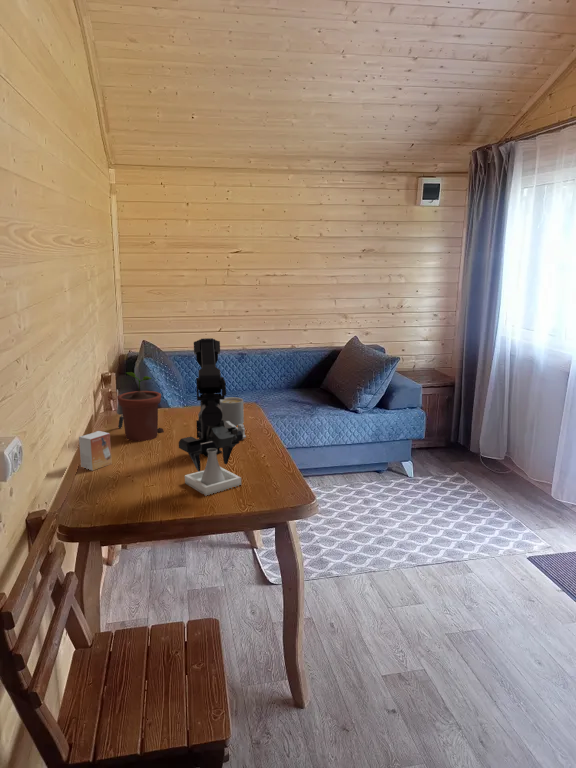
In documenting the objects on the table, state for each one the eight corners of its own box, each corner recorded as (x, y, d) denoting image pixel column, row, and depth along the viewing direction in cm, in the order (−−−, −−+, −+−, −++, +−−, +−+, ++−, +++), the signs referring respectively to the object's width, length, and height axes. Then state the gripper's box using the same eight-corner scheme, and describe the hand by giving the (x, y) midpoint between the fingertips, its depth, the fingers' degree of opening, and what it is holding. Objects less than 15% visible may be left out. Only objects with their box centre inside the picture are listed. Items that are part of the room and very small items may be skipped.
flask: (204, 488, 161) (203, 455, 159) (197, 479, 167) (196, 447, 165) (228, 484, 164) (227, 451, 162) (220, 475, 170) (220, 444, 168)
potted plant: (113, 444, 202) (108, 376, 196) (118, 427, 222) (114, 366, 217) (163, 441, 205) (160, 374, 200) (164, 425, 226) (161, 364, 221)
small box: (92, 471, 176) (89, 439, 174) (80, 468, 179) (78, 436, 177) (112, 463, 183) (110, 432, 180) (100, 460, 186) (98, 430, 183)
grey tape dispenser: (228, 435, 213) (246, 440, 207) (225, 436, 212) (244, 440, 206) (227, 420, 212) (246, 425, 206) (224, 421, 211) (243, 426, 205)
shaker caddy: (219, 473, 174) (219, 466, 173) (241, 485, 165) (241, 477, 164) (185, 483, 166) (184, 475, 166) (205, 496, 157) (205, 487, 157)
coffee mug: (244, 420, 233) (243, 397, 231) (243, 427, 223) (242, 403, 221) (212, 420, 232) (211, 397, 230) (209, 427, 223) (208, 403, 221)
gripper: (196, 428, 149) (198, 483, 153) (253, 416, 161) (254, 467, 164) (176, 419, 158) (178, 471, 161) (232, 408, 169) (233, 457, 173)
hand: (212, 467), depth 164 cm, fingers open, 9 cm apart
